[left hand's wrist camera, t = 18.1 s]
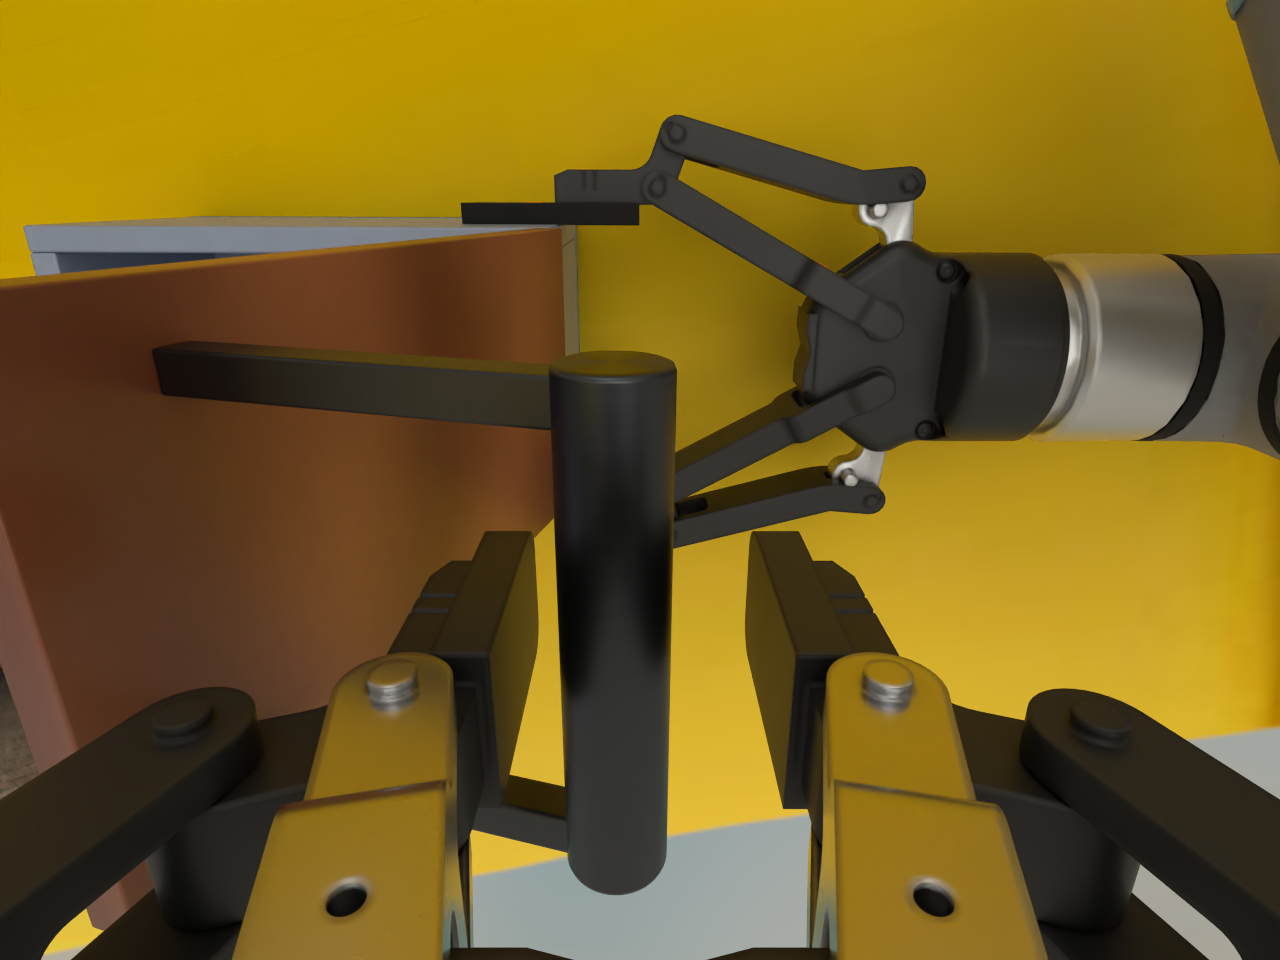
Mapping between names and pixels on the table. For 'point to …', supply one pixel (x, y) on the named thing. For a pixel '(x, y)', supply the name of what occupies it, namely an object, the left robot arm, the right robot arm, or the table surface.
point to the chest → (258, 243)
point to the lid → (334, 502)
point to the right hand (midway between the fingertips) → (479, 348)
